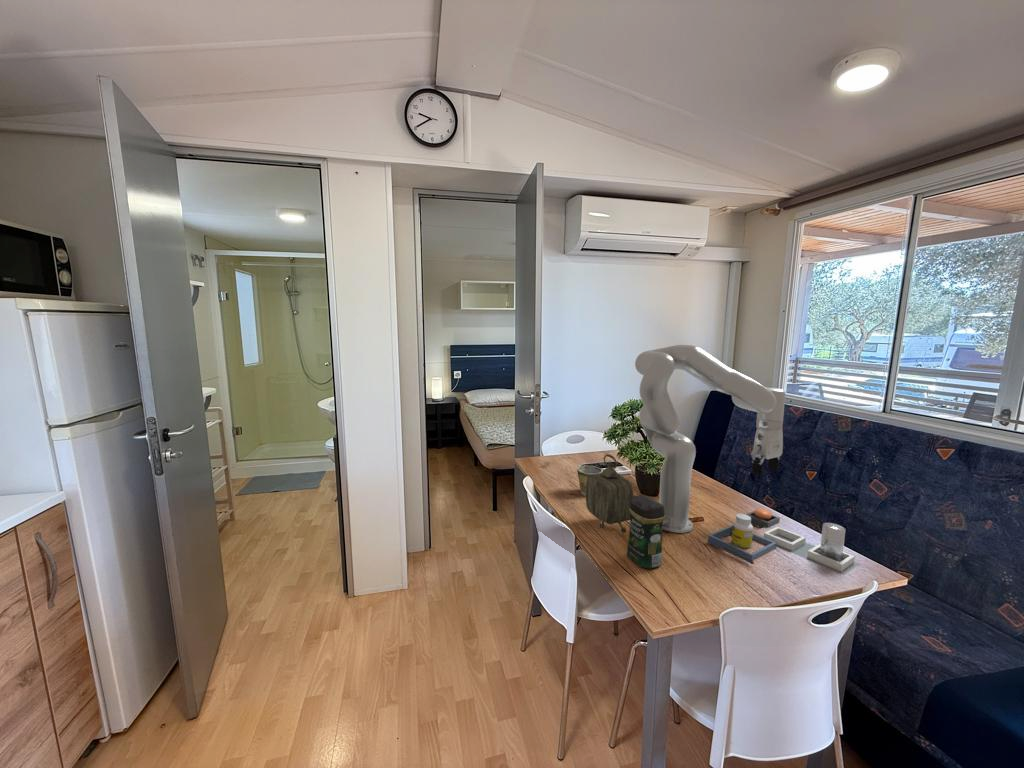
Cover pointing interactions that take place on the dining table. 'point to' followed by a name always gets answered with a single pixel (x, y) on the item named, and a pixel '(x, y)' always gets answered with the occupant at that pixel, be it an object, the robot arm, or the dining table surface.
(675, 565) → the dining table surface
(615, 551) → the dining table surface
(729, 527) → the rectangular frame
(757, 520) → the button housing
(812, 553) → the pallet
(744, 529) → the supplement bottle
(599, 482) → the olive drawstring pouch
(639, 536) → the coffee jar
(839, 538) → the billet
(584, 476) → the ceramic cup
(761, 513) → the button
